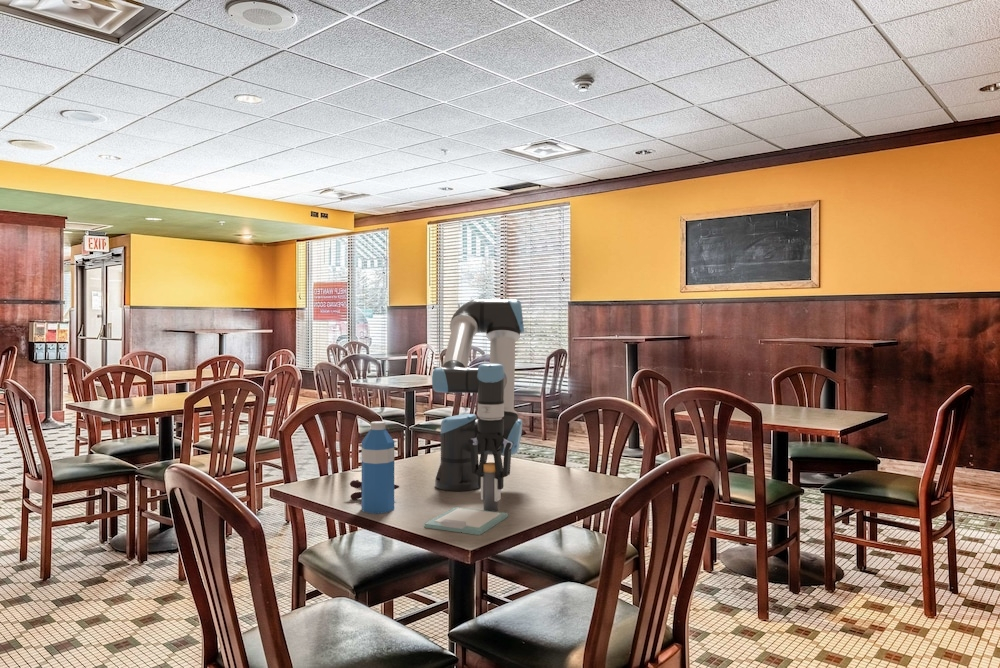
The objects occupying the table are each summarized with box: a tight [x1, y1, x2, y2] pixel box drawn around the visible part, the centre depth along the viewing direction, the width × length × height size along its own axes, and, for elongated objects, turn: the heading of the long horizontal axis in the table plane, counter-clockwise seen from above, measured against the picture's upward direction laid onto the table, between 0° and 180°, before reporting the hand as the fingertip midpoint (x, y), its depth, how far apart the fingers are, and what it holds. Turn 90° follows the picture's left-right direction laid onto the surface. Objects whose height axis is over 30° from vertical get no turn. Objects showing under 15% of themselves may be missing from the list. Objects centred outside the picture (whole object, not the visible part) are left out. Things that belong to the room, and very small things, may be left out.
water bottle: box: [361, 420, 395, 515], centre depth 195 cm, size 9×9×25 cm
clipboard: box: [423, 506, 509, 536], centre depth 182 cm, size 18×16×2 cm
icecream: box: [349, 479, 400, 500], centre depth 206 cm, size 7×7×15 cm
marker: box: [483, 461, 499, 512], centre depth 194 cm, size 4×4×13 cm
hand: (490, 499), depth 194 cm, fingers closed on marker, 4 cm apart
